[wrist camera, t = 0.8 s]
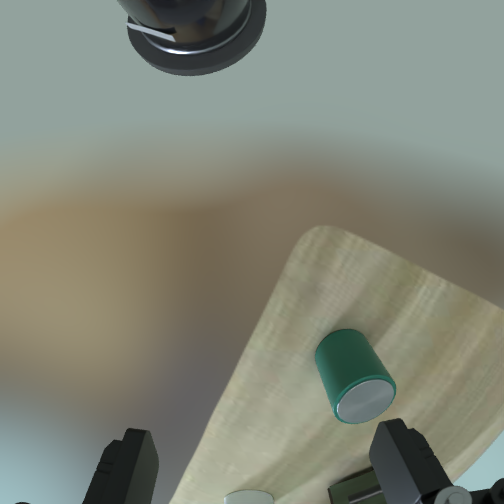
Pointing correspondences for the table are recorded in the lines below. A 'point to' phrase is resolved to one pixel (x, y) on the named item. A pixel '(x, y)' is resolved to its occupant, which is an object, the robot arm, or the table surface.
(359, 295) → the table surface
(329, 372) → the can
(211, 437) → the table surface
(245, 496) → the cylindrical container
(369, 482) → the drawer
